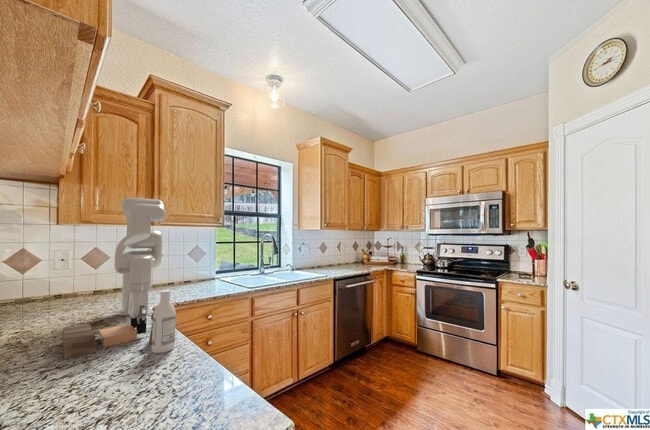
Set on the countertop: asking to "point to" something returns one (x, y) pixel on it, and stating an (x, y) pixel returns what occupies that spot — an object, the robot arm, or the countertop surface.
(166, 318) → the bath foam
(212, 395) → the countertop surface
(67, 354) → the shelf
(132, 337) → the tile
